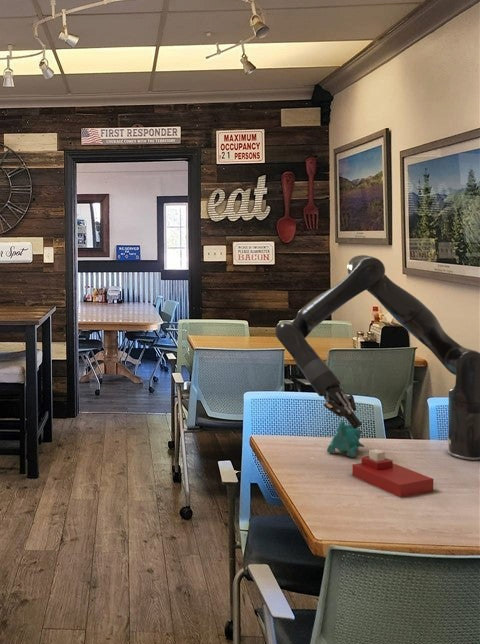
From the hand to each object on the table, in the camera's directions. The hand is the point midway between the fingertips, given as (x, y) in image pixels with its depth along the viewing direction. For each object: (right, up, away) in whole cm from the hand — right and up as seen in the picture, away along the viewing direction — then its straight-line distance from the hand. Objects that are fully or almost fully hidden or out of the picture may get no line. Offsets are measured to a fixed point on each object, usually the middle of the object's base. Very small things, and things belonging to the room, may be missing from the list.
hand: (358, 426), depth 176 cm
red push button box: (+5, -12, -9) cm, 16 cm away
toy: (+3, -13, +17) cm, 21 cm away
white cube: (+3, -8, -5) cm, 10 cm away
